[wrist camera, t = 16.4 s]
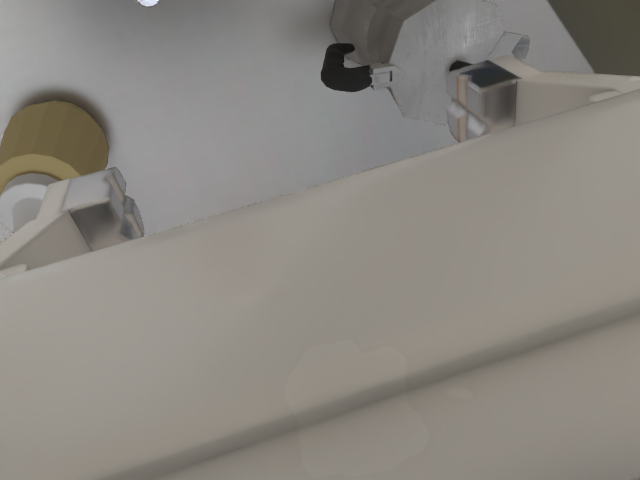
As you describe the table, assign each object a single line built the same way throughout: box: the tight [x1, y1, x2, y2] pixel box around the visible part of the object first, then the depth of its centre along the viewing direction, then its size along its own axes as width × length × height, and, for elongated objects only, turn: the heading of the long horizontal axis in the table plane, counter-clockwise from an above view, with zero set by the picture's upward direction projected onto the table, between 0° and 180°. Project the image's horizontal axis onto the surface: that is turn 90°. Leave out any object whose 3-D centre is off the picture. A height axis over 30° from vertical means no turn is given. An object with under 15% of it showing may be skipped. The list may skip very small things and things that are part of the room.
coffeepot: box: [321, 0, 530, 126], centre depth 41 cm, size 15×9×18 cm, turn 95°
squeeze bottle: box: [0, 100, 109, 233], centre depth 40 cm, size 8×8×18 cm
